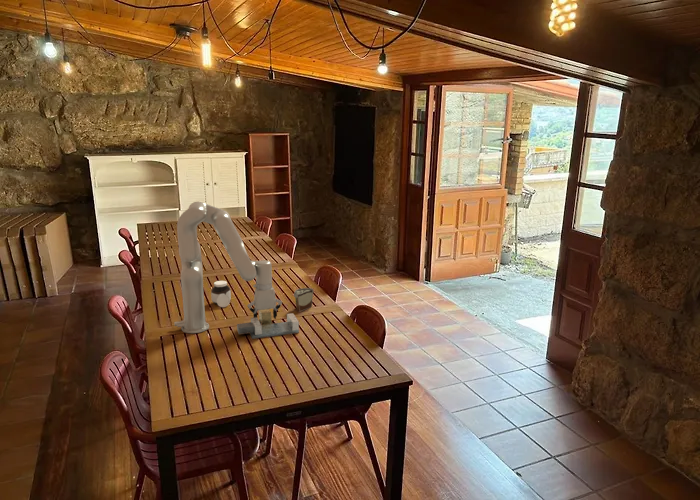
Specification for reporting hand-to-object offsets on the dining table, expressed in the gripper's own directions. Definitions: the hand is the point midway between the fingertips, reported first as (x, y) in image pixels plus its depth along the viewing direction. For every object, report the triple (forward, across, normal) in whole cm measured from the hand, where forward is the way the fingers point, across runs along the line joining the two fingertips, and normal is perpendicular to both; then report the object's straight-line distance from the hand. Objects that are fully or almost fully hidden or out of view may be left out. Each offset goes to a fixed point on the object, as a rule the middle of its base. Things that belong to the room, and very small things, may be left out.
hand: (265, 319), depth 245 cm
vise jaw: (0, -10, -12) cm, 16 cm away
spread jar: (+2, -17, +32) cm, 36 cm away
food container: (+2, +22, +13) cm, 26 cm away
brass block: (+2, 0, 0) cm, 2 cm away
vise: (+2, +1, -12) cm, 12 cm away
